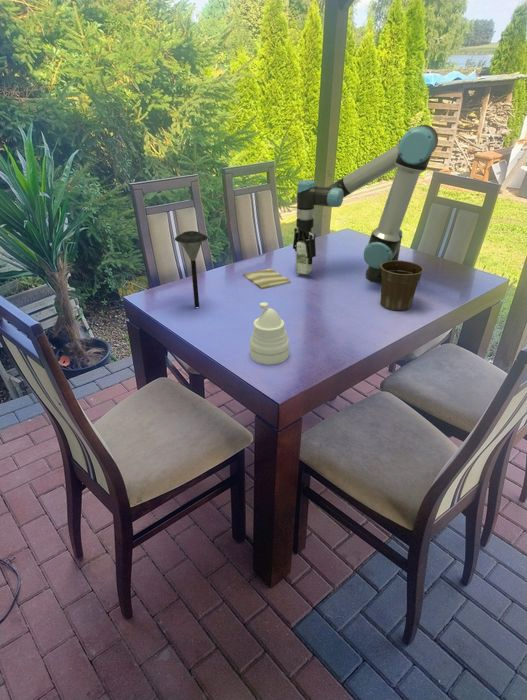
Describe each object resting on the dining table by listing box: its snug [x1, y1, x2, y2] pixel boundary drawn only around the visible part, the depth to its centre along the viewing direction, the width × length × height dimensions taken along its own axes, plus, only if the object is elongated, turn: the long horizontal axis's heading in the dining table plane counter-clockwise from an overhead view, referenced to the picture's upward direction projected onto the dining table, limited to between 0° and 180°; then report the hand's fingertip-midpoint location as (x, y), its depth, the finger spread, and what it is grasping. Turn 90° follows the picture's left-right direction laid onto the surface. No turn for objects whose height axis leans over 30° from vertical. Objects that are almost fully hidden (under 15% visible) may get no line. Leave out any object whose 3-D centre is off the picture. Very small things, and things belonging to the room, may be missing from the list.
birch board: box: [242, 268, 291, 290], centre depth 204 cm, size 18×15×1 cm
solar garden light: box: [174, 230, 209, 308], centre depth 170 cm, size 12×12×30 cm
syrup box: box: [295, 241, 311, 275], centre depth 203 cm, size 6×6×14 cm
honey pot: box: [249, 301, 290, 366], centre depth 143 cm, size 13×13×18 cm
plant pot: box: [379, 259, 424, 312], centre depth 177 cm, size 16×16×16 cm
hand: (303, 267), depth 206 cm, fingers closed on syrup box, 8 cm apart
